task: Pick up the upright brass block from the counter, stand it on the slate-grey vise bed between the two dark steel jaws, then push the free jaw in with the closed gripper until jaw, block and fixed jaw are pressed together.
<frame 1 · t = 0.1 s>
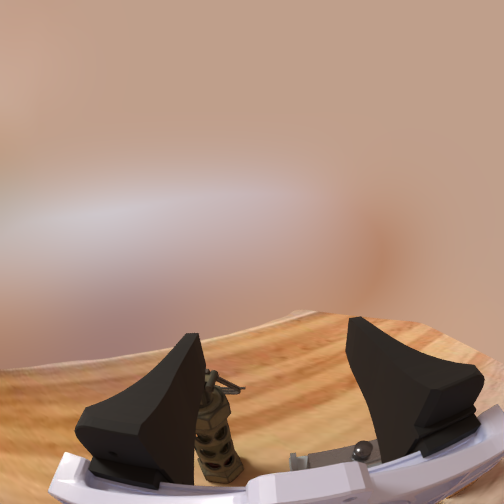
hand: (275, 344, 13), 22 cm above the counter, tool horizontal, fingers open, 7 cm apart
free jaw: (359, 461, 20), point 4 cm above the counter, slide at 0.0 cm
grenade: (214, 463, 25), on the counter
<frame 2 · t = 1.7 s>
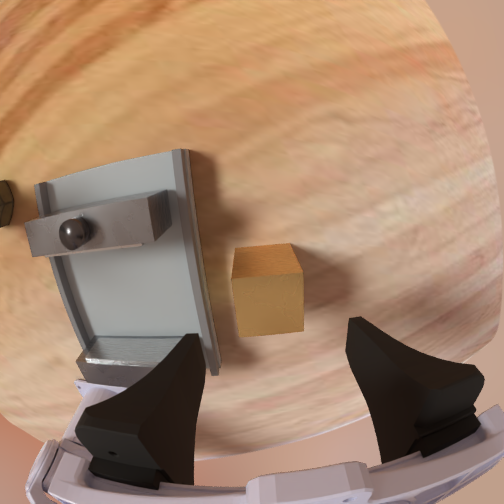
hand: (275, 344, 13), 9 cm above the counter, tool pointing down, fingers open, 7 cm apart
free jaw: (90, 226, 16), point 4 cm above the counter, slide at 0.0 cm
fixed jaw: (147, 341, 23), resting on board
board: (128, 276, 21), on the counter
block: (264, 270, 21), on the counter
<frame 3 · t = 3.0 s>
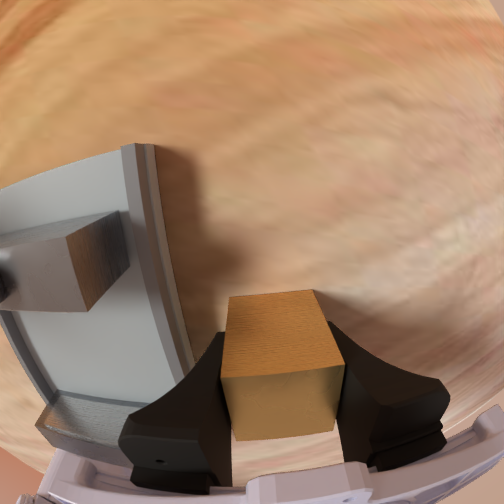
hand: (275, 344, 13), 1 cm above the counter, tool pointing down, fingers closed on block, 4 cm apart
free jaw: (14, 270, 9), point 4 cm above the counter, slide at 0.0 cm
fixed jaw: (120, 400, 16), resting on board
board: (84, 326, 14), on the counter
block: (273, 327, 14), on the counter, touching gripper
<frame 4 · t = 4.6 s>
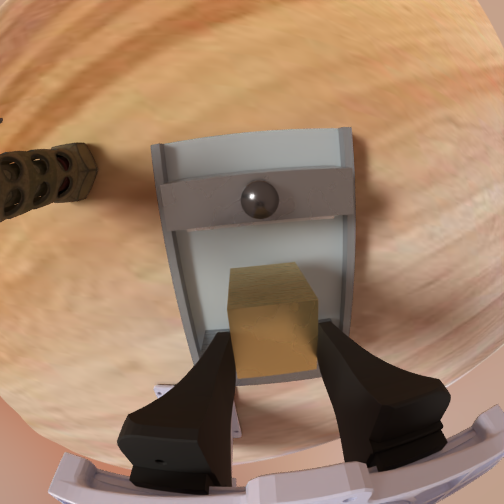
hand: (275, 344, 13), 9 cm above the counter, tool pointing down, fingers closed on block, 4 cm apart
free jaw: (258, 195, 15), point 4 cm above the counter, slide at 0.0 cm
fixed jaw: (268, 330, 23), resting on board
board: (262, 258, 21), on the counter
grenade: (66, 163, 18), on the counter
block: (265, 294, 18), point 4 cm above the counter, touching gripper
when the fingers open (4 cm above the counter, at t = 6.0 s): block stays where it is, resting on board.
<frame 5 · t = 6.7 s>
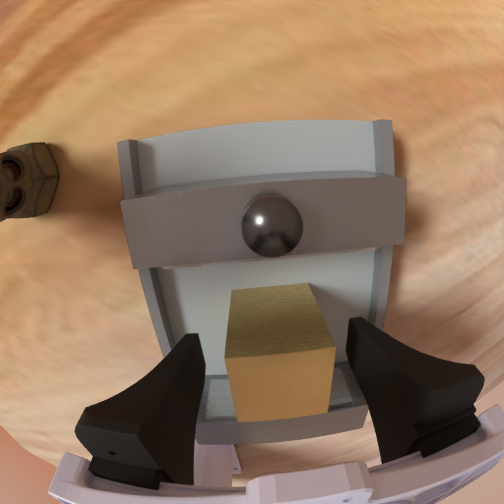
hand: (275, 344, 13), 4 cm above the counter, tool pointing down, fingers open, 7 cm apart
free jaw: (267, 215, 11), point 4 cm above the counter, slide at 0.0 cm
fixed jaw: (274, 373, 18), resting on board
board: (269, 291, 16), on the counter
grenade: (26, 169, 13), on the counter
block: (272, 318, 15), point 1 cm above the counter, touching board
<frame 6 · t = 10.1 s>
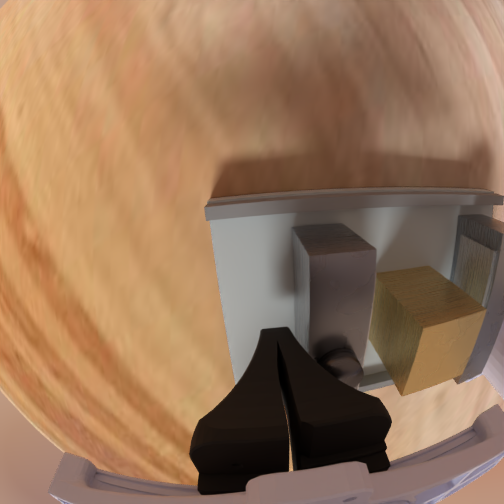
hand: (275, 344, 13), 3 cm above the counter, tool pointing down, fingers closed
free jaw: (331, 342, 12), point 4 cm above the counter, slide at 1.3 cm, touching gripper
fixed jaw: (451, 281, 16), resting on board
board: (374, 295, 16), on the counter
block: (398, 300, 15), point 1 cm above the counter, touching board
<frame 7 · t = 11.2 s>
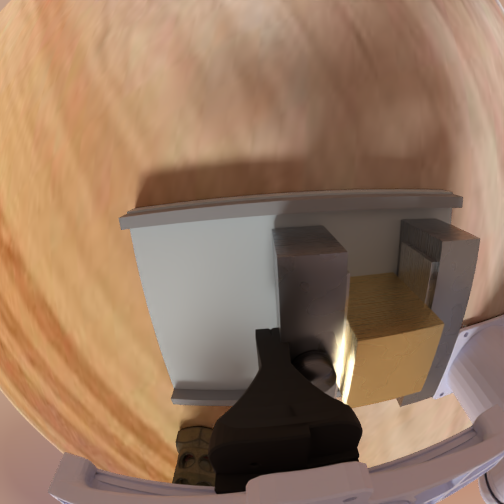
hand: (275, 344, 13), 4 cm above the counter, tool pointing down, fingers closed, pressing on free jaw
free jaw: (308, 344, 12), point 4 cm above the counter, slide at 4.8 cm, touching block, gripper
fixed jaw: (402, 292, 16), resting on board
board: (304, 304, 16), on the counter
grenade: (197, 441, 21), on the counter
block: (358, 307, 15), point 1 cm above the counter, touching fixed jaw, free jaw
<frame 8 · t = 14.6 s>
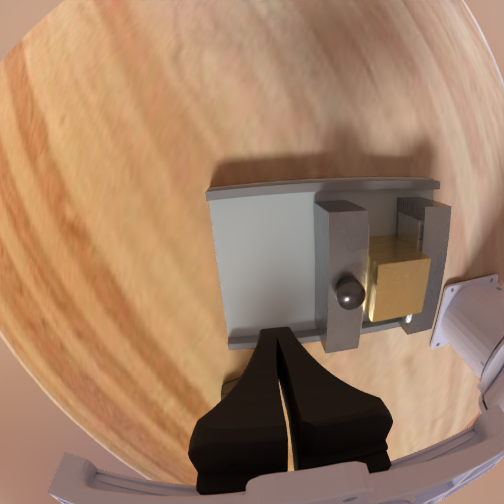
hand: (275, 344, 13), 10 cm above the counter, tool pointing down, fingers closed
free jaw: (342, 279, 18), point 4 cm above the counter, slide at 4.8 cm, touching block
fixed jaw: (400, 252, 22), resting on board
board: (332, 259, 22), on the counter
block: (370, 260, 21), point 1 cm above the counter, touching board, fixed jaw, free jaw
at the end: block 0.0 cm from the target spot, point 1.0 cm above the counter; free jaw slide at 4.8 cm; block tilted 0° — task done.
